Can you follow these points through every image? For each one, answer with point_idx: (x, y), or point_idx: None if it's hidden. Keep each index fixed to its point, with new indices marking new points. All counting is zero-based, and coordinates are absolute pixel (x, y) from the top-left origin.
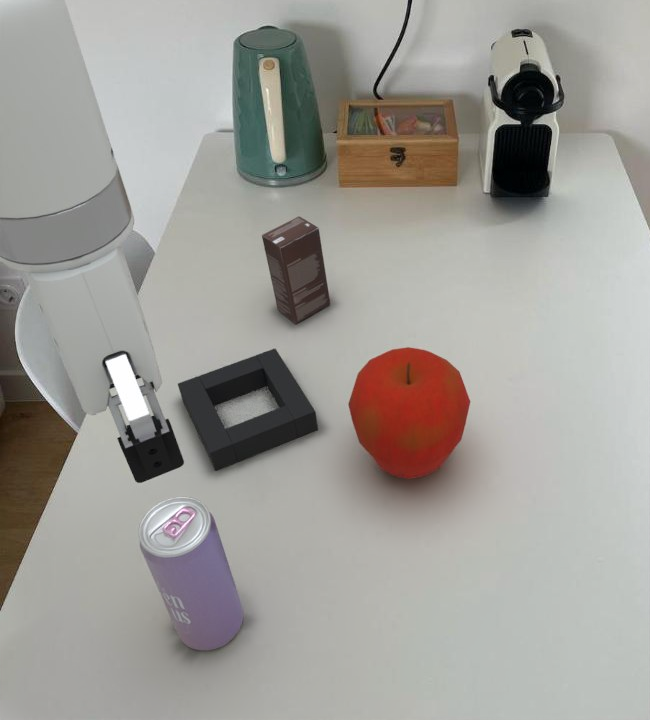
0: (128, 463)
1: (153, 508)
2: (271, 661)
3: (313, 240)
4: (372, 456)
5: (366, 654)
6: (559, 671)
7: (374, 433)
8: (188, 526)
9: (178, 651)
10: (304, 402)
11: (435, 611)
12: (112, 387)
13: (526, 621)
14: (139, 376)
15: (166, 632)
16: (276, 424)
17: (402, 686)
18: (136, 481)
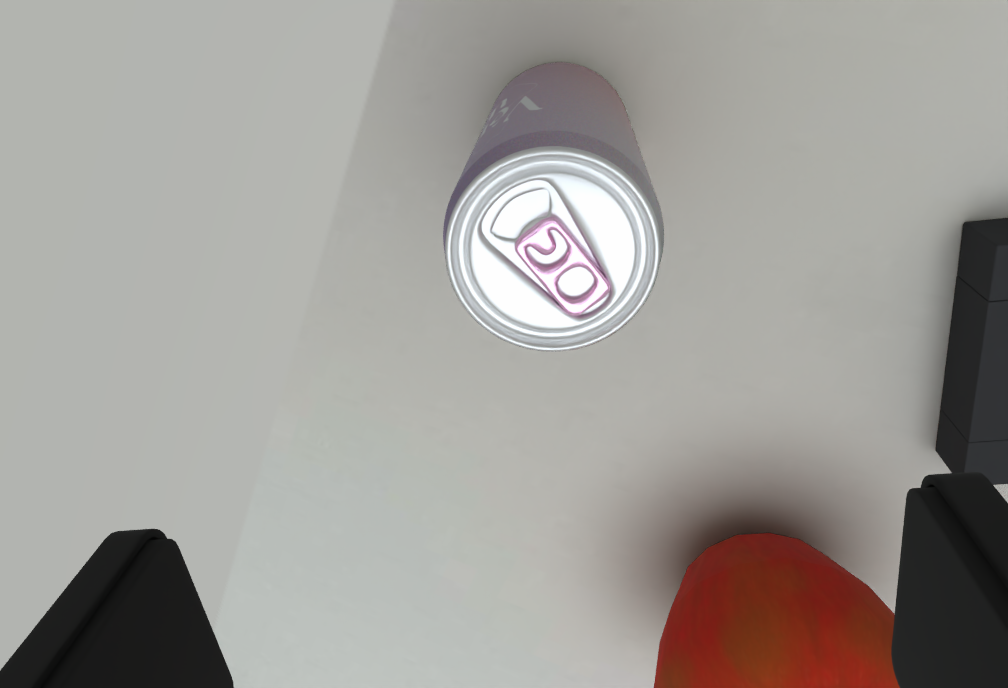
0: (25, 645)
1: (643, 207)
2: (435, 225)
3: None
4: (734, 565)
5: (395, 375)
6: (289, 589)
7: (733, 636)
8: (533, 289)
9: (521, 52)
10: (1005, 475)
11: (433, 490)
12: (905, 524)
13: (374, 586)
14: (897, 655)
15: (576, 33)
16: (980, 405)
17: (324, 405)
18: (111, 536)
